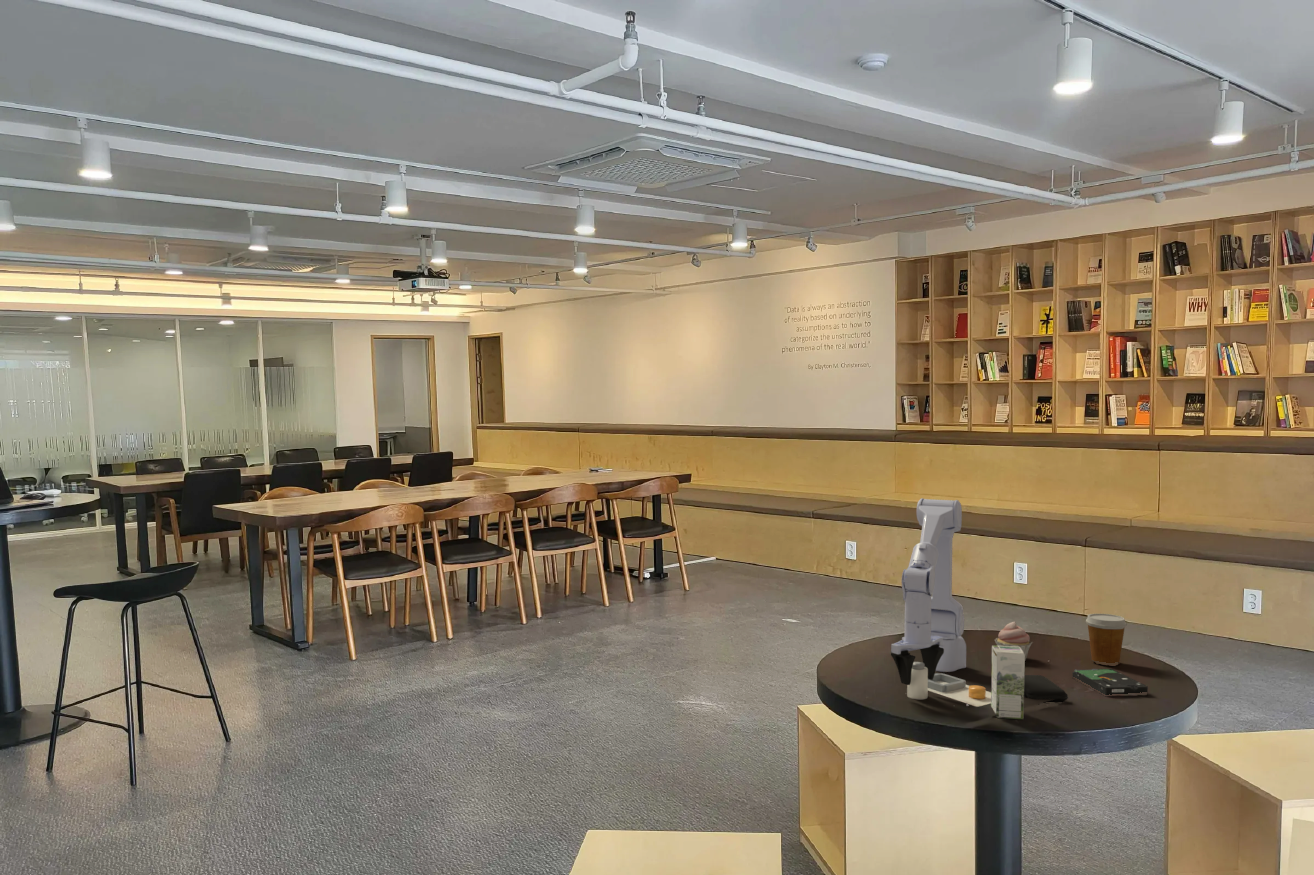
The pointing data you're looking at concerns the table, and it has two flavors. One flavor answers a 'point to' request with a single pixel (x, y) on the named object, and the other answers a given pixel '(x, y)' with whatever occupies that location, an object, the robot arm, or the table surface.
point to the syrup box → (1007, 682)
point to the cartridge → (918, 682)
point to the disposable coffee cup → (1106, 636)
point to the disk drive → (1109, 681)
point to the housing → (955, 689)
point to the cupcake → (1014, 637)
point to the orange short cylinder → (977, 692)
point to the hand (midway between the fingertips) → (917, 681)
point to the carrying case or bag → (1042, 689)
